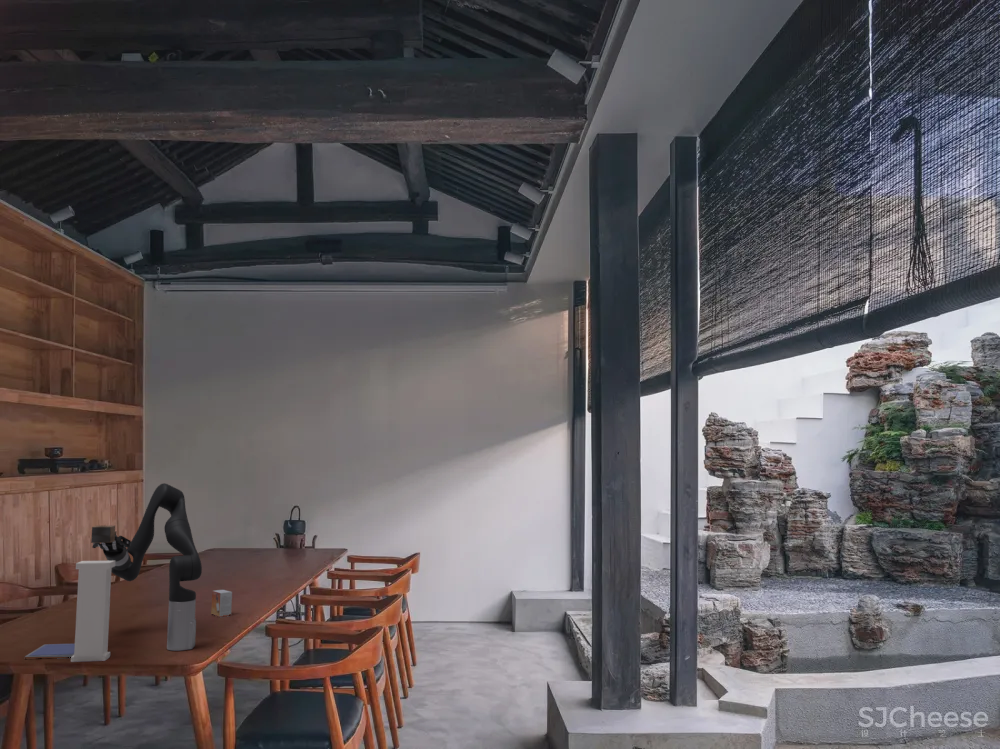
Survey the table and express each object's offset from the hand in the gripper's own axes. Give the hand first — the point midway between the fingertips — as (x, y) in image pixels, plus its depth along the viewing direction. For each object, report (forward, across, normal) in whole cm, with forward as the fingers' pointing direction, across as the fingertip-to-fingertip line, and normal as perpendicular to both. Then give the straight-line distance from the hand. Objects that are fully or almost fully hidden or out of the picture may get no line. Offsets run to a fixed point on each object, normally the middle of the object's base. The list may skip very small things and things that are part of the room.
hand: (105, 533), depth 301 cm
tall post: (-12, 0, +41) cm, 43 cm away
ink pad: (-22, -14, +36) cm, 44 cm away
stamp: (-2, 0, +2) cm, 3 cm away
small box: (-74, +32, +6) cm, 81 cm away
